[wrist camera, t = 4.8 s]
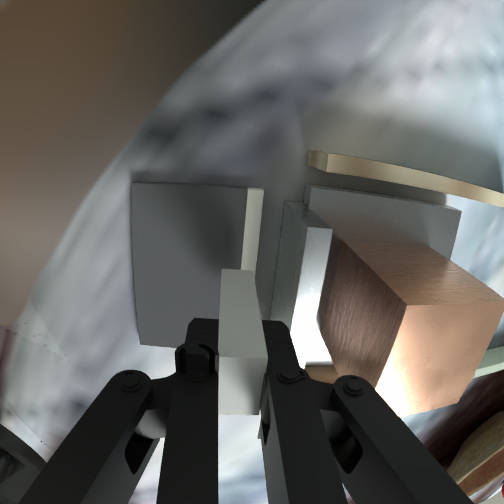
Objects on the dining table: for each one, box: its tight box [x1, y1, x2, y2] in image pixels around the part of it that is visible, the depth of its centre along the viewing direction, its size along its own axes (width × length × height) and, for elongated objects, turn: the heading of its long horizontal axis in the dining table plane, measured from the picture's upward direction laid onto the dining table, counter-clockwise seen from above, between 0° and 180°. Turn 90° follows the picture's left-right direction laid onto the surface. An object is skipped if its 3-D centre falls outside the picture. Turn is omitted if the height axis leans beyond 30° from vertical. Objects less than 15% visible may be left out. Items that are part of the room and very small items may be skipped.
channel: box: [304, 150, 504, 384], centre depth 17 cm, size 16×15×4 cm
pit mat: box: [131, 182, 264, 348], centre depth 17 cm, size 7×10×1 cm
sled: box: [270, 184, 504, 417], centre depth 14 cm, size 11×11×8 cm
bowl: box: [447, 411, 504, 497], centre depth 26 cm, size 24×24×8 cm
